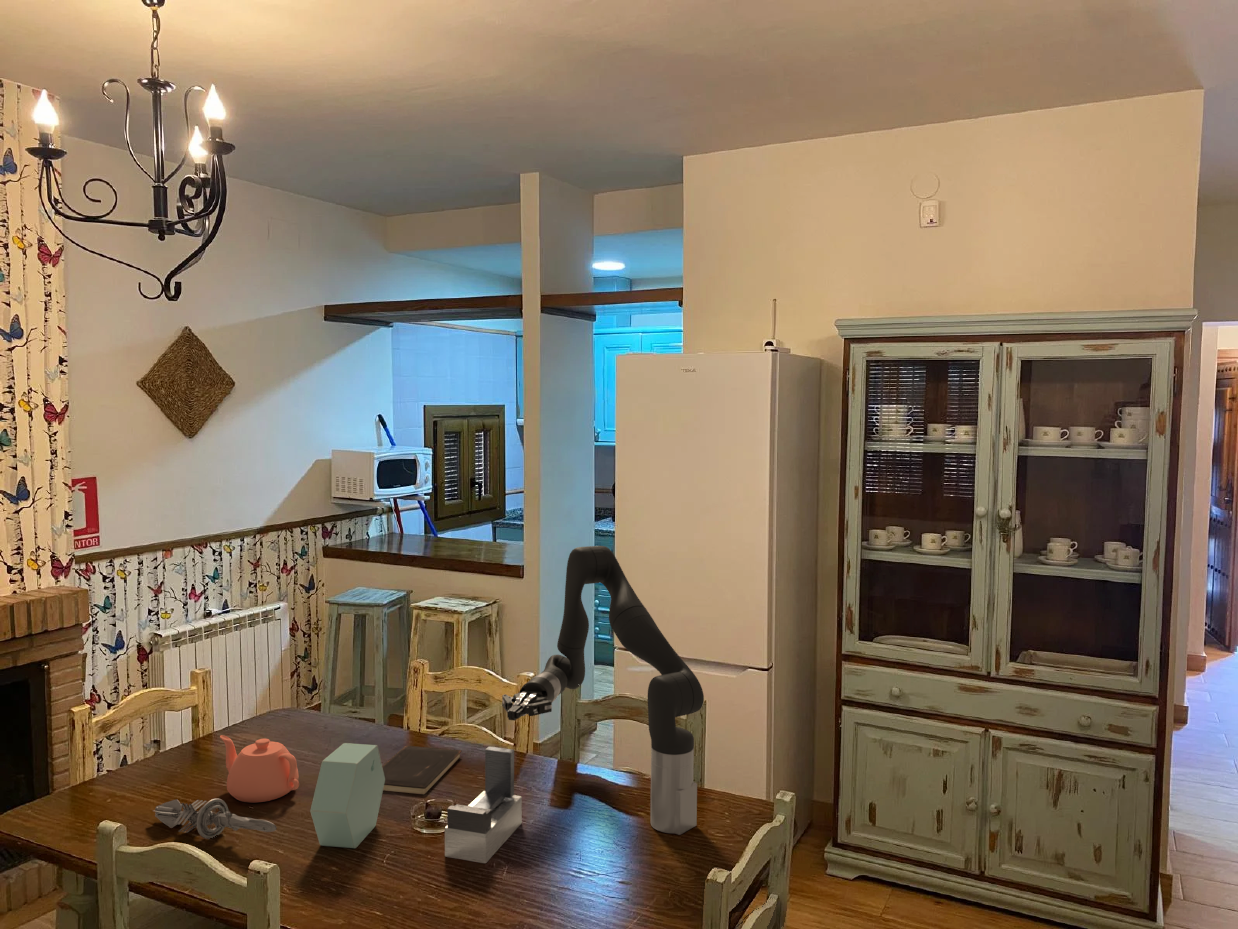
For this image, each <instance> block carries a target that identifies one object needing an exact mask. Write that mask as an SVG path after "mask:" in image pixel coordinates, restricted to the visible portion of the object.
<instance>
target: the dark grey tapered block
mask: <svg viewBox="0 0 1238 929" xmlns="http://www.w3.org/2000/svg"><path fill="white" fill-rule="evenodd" d="M484 761H485V762H484V764H485V765H484V766H485V767H484V770H485V771H484V773H485V774H484V779H485V780H484V781H485V782H484V783H485V784H484V786H485V788H484V789H485V790H484V791H485V794H486V795H485V796H484V797H483V798H482V799H480V800H479V801H478V802H477V803H476V804H475V805H474V806H473V807H478V808H484V809H491V811H492V810H493V809H494V808H495V807H496V806H497V805H498V804H499V803H500V802H501V801H502V800H503V799H504V798H505V797H506V798H511V797H512V796H513V795H515V749H511V748H503V747H497V746H496V747H495V746H488V747H487V748H485V750H484Z"/></svg>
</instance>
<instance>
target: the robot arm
mask: <svg viewBox="0 0 1238 929" xmlns="http://www.w3.org/2000/svg"><path fill="white" fill-rule="evenodd" d="M566 564H567V565H566V573H565V574H566V575H565V585H564V586H565V588H564V605H563V606H564V607H563V608H564V609H563V616H562V622H561V626H560V630H559V635H558V638H557V645H556V646H557V650H558V652H559V653H561V655H560V654H553V655H551V656H550V657H548V659H547V661H546V663H545V666H544V670H543V671H541V672H540V673H538V674H536V675H535V676H533V677H532V678H531V679H530V680H528V681H526V683H525V684H523V685H522V687H521V688H520V690H519V692H518V693H515V694H513V695H512V696H511V695H508V694H505V693H504V694H502V698H501V700H502V703H501V706H502V707H503V708H504V710H505V712H506V713H507V715H506V716H507V718H508V720H509V721H516V720H518V719H520V718H521V717H525V716H526V715H528V716H529V717H533V716H538V715H543V714H548V713H551V712H552V708H553V703H554V701H555V700H557V698H558V696H559V695H561V694H562V693H563V692H564V691H565V690H566V688H567V689H569V690H576V689H578V688H579V687H580V686H582V685H583V682H584V680H585V676H586V664H585V647H586V643H587V638H588V634H589V630H590V621H589V616H588V614H587V611H586V609H585V607H584V604H583V600H582V593H583V589H584V587H585V585H590V584H593V585H594V584H602V585H603V586H604V587H605V589H606V591H607V592H608V594H609V595H610V604H609V612H608V621H609V625H610V628H611V629H612V631H613V633H614V634H615V636H616V637H617V639H618V641H619V642H620V644H621V645H622V646H623V648H625V649H626V650H627V651H628V652H630V653H631V654H632V655H634V656H635V657H637V658H638V659H640V660H642V661H643V662H645V663H647V664H648V665H650V666H652V667H653V668H654V669H656V670H657V671H658V673H659V674H660V675H656V676H654V677H653V678H651V680H650V682H649V683H648V688H647V713H648V714H647V715H648V716H647V717H648V731H649V732H648V733H649V736H650V740H651V741H650V742H651V743H650V745H651V746H650V747H651V748H650V756H651V757H650V825H651V827H652V828H653V829H655V830H657V831H658V832H662V833H666V834H676V835H679V836H680V835H682V834H684V833H686V832H688V831H689V830H691V829H692V828H695V827H696V826H698V824H697V818H698V816H697V814H698V813H697V812H698V811H697V810H698V783H697V782H695V781H694V758H695V756H694V754H695V752H694V750H695V748H694V747H695V737H694V735H693V733H692V732H691V731H689V730H688V729H685V728H682V727H679V726H676V725H677V724H676V718H678V717H682V716H683V717H684V716H687V715H692V714H695V713H697V712H699V711H700V710H701V709H702V708H703V705H704V700H705V696H704V691H703V687H702V685H701V683H700V681H699V679H698V677H697V676H696V675H695V673H694V672H693V671H692V669H691V668H690V667H689V665H687V663H686V662H685V661H684V659H682V657H680V655H679V654H678V653H677V652H676V650H675V649H674V648H673V646H672V645H671V644H670V643H669V641H668V639H667V638H666V637H665V636H664V634H663V633H662V631H661V630H660V628H659V626H658V625H657V623H656V622H655V620H654V619H653V617H652V616H651V614H650V612H649V611H648V609H647V608H646V606H645V605H644V604H643V602H642V600H640V599H639V596H638V595H637V594H636V592H635V590H634V589H633V587H632V586H631V584H630V583H629V581H628V579H627V577H626V575H625V572H624V571H623V569H622V566H621V564H620V563H619V560H618V559H617V557H616V556H615V554H614V553H613V551H612V550H611V548H609V547H607V546H605V545H591V546H589V545H588V546H577V547H574V549H572V550H571V551H570V553H569V555H568V558H567V563H566ZM578 684H580V686H579V685H578Z"/></svg>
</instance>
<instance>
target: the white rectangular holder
mask: <svg viewBox="0 0 1238 929" xmlns="http://www.w3.org/2000/svg"><path fill="white" fill-rule="evenodd" d="M485 795H486V794H485V790H483V791H482V792H481V793H480V794H478V796H476V798H475V799H474V800H473V801H471V802H470V803H469V804H468V805H463V804H455V805H449V806H448V807H447V811H446V813H447V814H446V815H447V820H446V821H447V823H446V824H447V825H446V826H445V827H444V857H447V858H451V859H456V860H457V859H458V860H463V861H469V862H476V863H480V864H486V863H488V862H489V860H490V859H492V857H493V856H494V855H495V854H496V853H497V852H498V850H499V849H500V848H501V847H502V846H503V844H504V843H506V841H507V840H508V839H509V838H510V837H511V836H512V835H513V834H514V832H515V831H516V830H517V829H518V828H519V827H520V826H521V825H522V822H523V821H522V816H523V815H522V810H523V809H522V808H523V807H522V806H523V805H522V804H523V803H522V800H523V799H522V796H521V795H516V794H514V795H513V796H512V797H511V798H506V797H505V798H504V799H503V800H502V801H501V802H500V803H499V804H498V805H497V806H496V807H495V808H494V809H493V810H492V811H491V809H484V808H478V807H473V806H474V805H475V804H476V803H477V802H478V801H479V800H480V799H482V798H483V797H484V796H485Z"/></svg>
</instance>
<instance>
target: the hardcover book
mask: <svg viewBox="0 0 1238 929" xmlns="http://www.w3.org/2000/svg"><path fill="white" fill-rule="evenodd" d="M461 753H462V750H461V749H451V748H450V749H448V748H437V747H429V746H428V747H425V746H413V745H405V746H403V747H402V748H401V749H400V750H399V751H397V752H396V753H395V754H394V755H393V756H392V757H390V758H389V759H388V760H386V762H385V763H384V764H382V767H383V772H384V776H385V783H384V788H383V791H387V792H399V793H407V794H408V793H409V794H418V795H425V794H427V792H428V791H429V790H430V789H431V788H432V787H433V786H434V785H435V784H436V783H437V782H439V780H440V779H441V778H442V776H443V775H444V774H446V772H447V771H448V770H449V769H450V768H452V766H453V765H454V764H455V763H456V762H457V761H458V760H459V759H460V757H461Z"/></svg>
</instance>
